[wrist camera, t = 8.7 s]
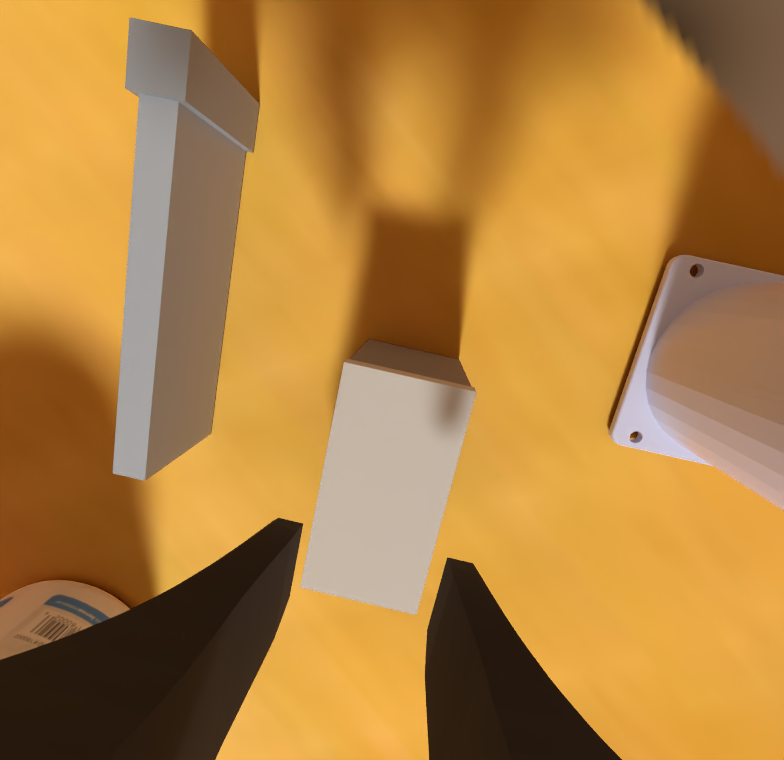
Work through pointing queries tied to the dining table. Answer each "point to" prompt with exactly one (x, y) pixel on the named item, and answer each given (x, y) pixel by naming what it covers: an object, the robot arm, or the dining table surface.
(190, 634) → the robot arm
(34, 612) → the supplement tub
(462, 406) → the block
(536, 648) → the dining table surface
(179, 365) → the wall
